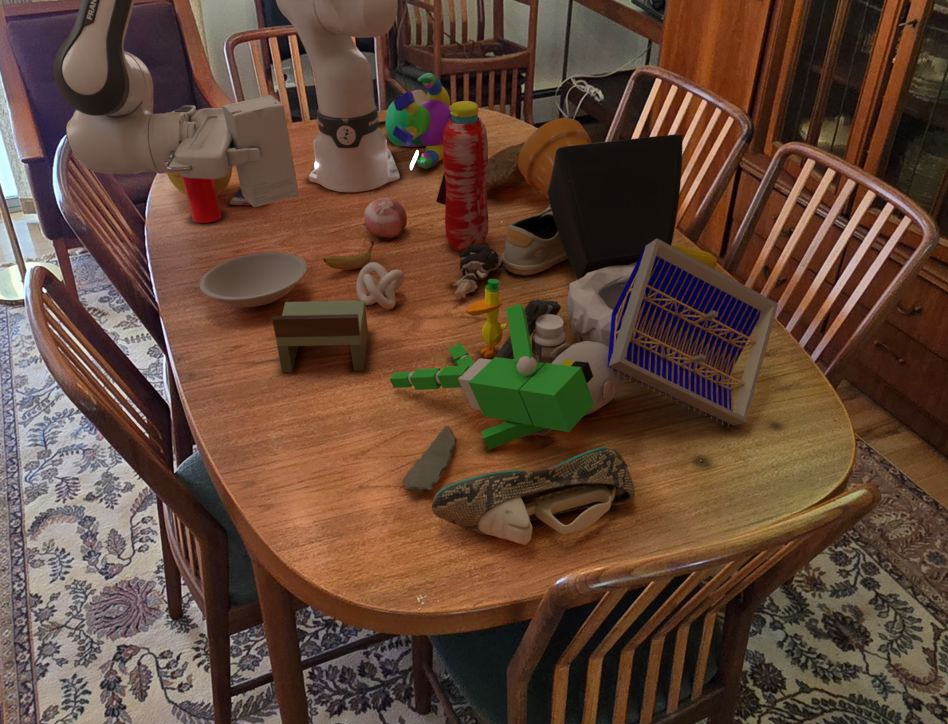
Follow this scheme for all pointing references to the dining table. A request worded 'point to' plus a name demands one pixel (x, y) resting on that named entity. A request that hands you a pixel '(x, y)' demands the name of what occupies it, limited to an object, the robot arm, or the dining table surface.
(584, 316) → the bowl
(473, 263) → the figurine
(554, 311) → the handgun
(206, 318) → the dining table surface
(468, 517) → the ballet flat
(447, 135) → the water bottle
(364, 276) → the knot
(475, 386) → the toy
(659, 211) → the flower pot
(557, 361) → the toy
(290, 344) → the shelf
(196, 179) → the bottle
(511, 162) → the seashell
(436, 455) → the stone
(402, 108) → the figurine
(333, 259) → the banana
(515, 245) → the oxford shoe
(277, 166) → the cosmetic box
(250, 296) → the dish
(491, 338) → the toy figure
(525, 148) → the flower pot
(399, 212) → the onion
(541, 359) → the pill bottle
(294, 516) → the dining table surface
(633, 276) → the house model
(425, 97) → the ice cream cone
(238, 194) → the smartphone
